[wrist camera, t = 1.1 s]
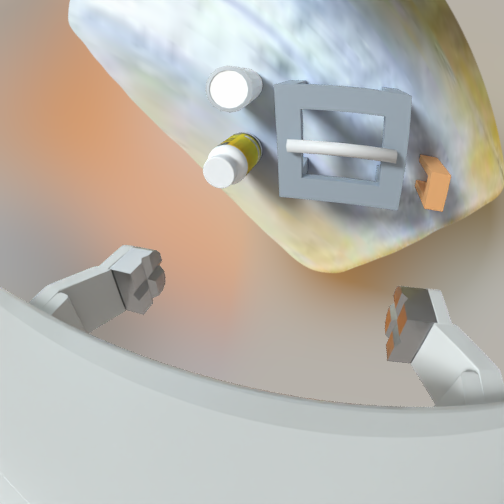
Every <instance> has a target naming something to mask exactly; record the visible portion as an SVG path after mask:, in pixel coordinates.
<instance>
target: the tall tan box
mask: <svg viewBox="0 0 504 504" xmlns="http://www.w3.org/2000/svg"><path fill="white" fill-rule="evenodd" d="M419 162H420V164H421V165H422V167H423V168H424V170H425V172H426V173H427V175H428V178H427V182H425V181H420V180H416V184H415V188H416V190H417V192H418V195H419V197H420V199H421V202H422V204H423V207H424V209H430V210H436V211H441V212H443V208H444V204H445V200H446V196H447V192H448V188H449V183H450V179H451V175H450V174H449V172H448V171H447V170H446V168H445V167H444V166H443V165H442V163H441V162H440V161H439V160H438V158H436V157H431V156H426V155H421V154H420V159H419Z"/></svg>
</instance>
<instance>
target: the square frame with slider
mask: <svg viewBox="0 0 504 504" xmlns="http://www.w3.org/2000/svg"><path fill="white" fill-rule="evenodd" d="M274 99H275V116H276V133H277V153H278V175H279V197H288V198H298V199H309V200H318V201H328V202H336V203H345V204H353V205H361V206H368V207H376V208H383V209H390V210H397V211H398V207H399V202H400V196H401V190H402V184H403V178H404V172H405V165H406V157H407V149H408V141H409V131H410V119H411V104H412V96H411V95H409V94H407V93H404V92H402V91H400V90H398V89H394V88H387V87H382V90H375V89H367V88H358V87H348V86H335V85H317V84H306V81H303V80H289V81H286V82H282V83H278V84H275V85H274ZM302 109H312V110H329V111H341V112H352V113H361V114H370V115H377V116H384V128H383V141H382V148H380V147H373V146H365V145H356V144H347V143H337V142H326V141H312V140H303V120H302ZM303 153H309V154H322V155H333V156H343V157H353V158H361V159H369V160H376V161H381V163H380V165H377V170H376V182H375V181H368V180H360V179H352V178H343V177H333V176H323V175H313V174H307V171H308V158H306V157H303Z"/></svg>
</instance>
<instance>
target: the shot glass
mask: <svg viewBox="0 0 504 504" xmlns="http://www.w3.org/2000/svg"><path fill="white" fill-rule="evenodd" d="M262 86H263V83H262V79H261V77H260V76H259V75H258V73H257V72H255V71H253V70H252V69H247V68H241V67H234V66H224V67H220V68H217V69H216V70H215V71H214V72H212V73H211V74H210V76H209V78H208V80H207V81H206V90H205V91H206V95H207V98H208V100H209V101H210V103H211V104H212V105H213V106H214V107H215V108H217V109H218V110H220V111H223V112H229V113H231V112H236V111H239V110H241V109H242V108H244V107H245V106H247V105H248V104H249V103H250V102H252V101H253V100H254V99H256V98H257V97H258V96H259V94H260V93H261V91H262Z"/></svg>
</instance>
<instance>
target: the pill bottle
mask: <svg viewBox="0 0 504 504" xmlns="http://www.w3.org/2000/svg"><path fill="white" fill-rule="evenodd" d="M261 156H262V146H261V144H260V142H259V140H258V139H257V138H256V137H255V136H254V135H252V134H250V133H247V132H239V133H236V134H234V135H233V136H231V137H230V138H228V139H227V140H225V141H224V142H223V143H221V144H220V145H218V146H217V147H216V148H214V149H213V150H212V151H211V153H210V154H209V156H208V160H207V161H206V162H205V164H204V167H203V174H204V177H205V179H206V180H207V181H208V183H209V184H211V185H212V186H214V187H217V188H226V187H228V186H230V185H231V184H236V183H238V182H240V181H241V180H242V179H243V178H244V177H245V176H246V175H247V174H248V173H249V171H250V170H251V169H252V168H253V167H254V166H255V165H256V164H257V162H258V161H259V160H260V158H261Z"/></svg>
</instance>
